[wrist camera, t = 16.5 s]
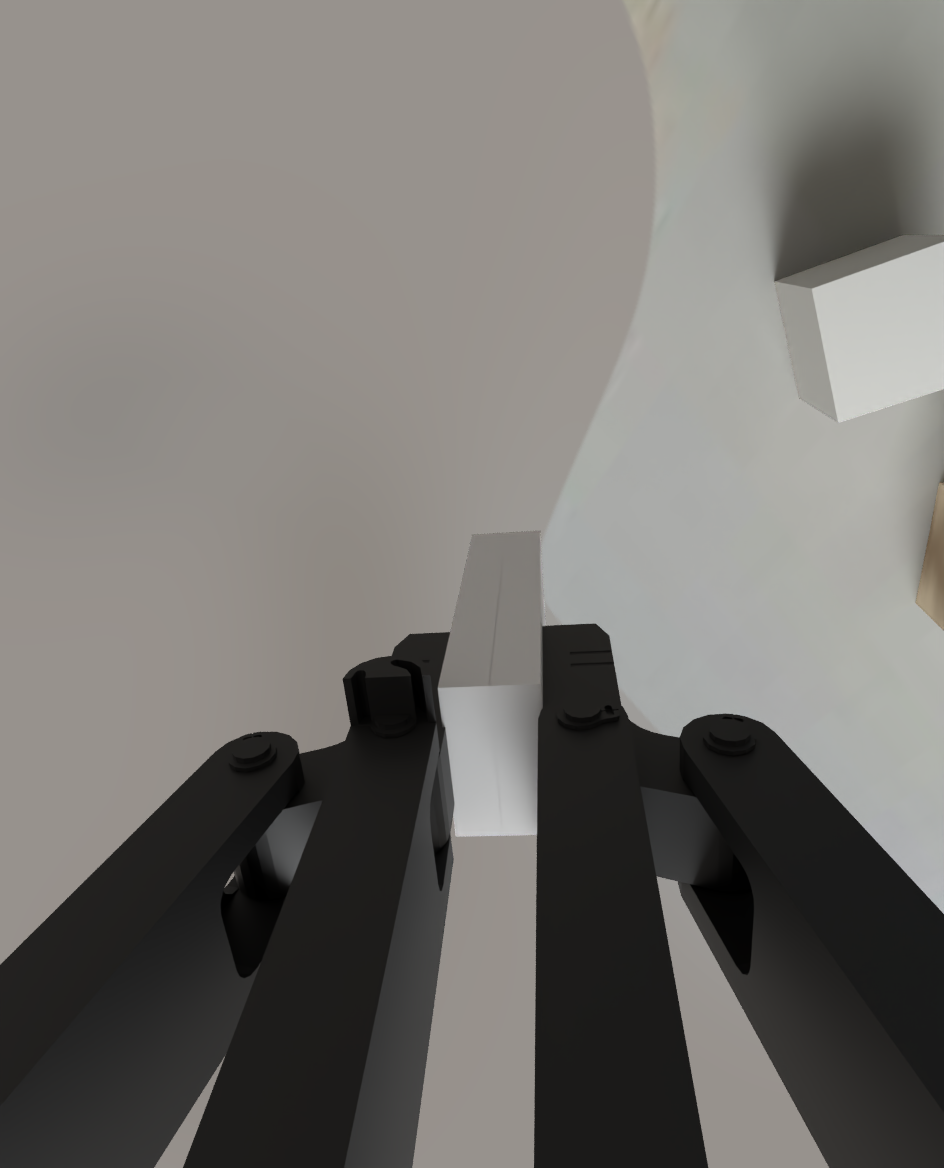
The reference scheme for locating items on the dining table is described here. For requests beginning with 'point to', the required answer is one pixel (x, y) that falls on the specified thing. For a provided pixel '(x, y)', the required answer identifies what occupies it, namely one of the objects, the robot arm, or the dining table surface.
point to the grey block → (867, 326)
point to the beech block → (934, 566)
